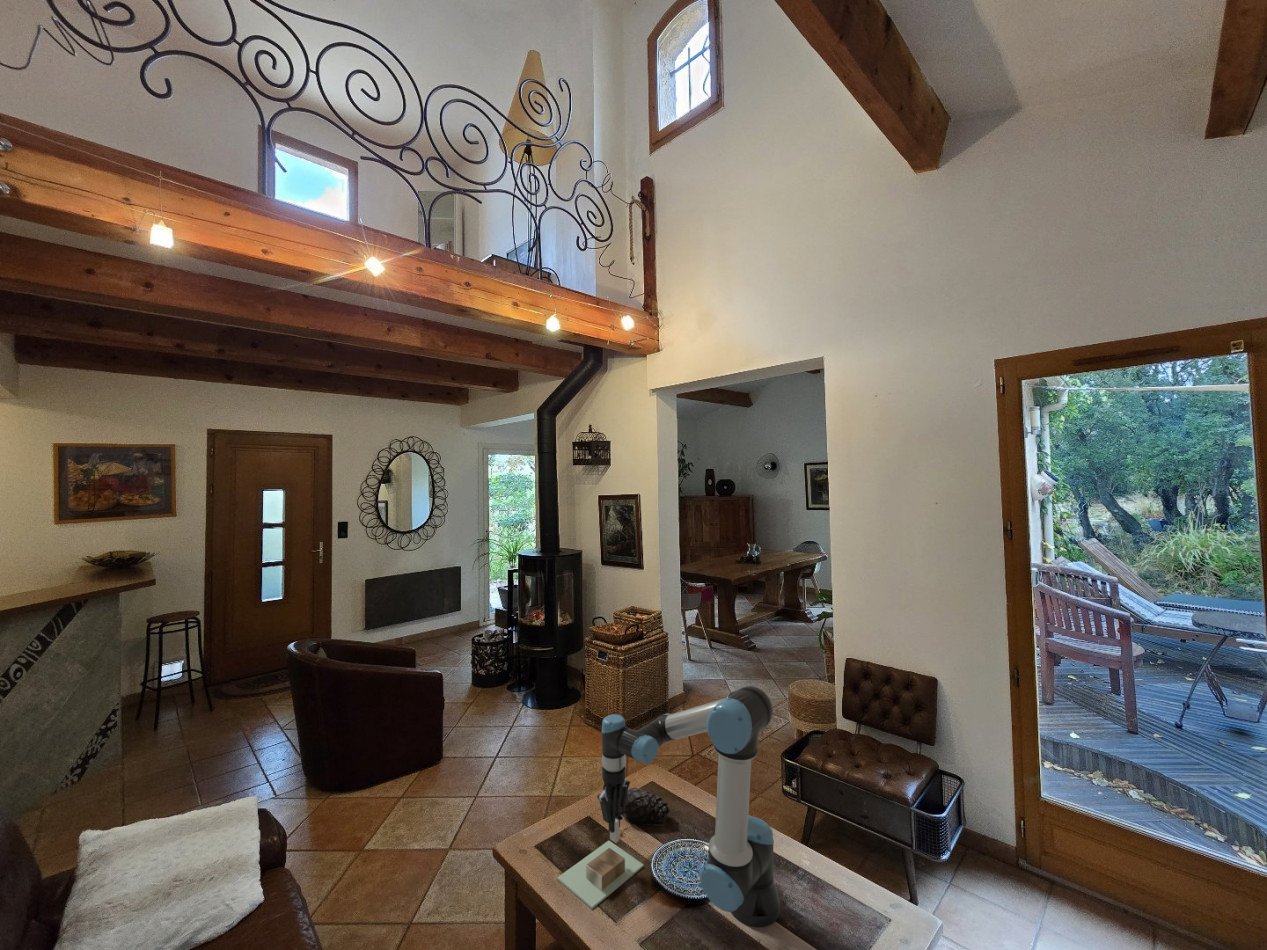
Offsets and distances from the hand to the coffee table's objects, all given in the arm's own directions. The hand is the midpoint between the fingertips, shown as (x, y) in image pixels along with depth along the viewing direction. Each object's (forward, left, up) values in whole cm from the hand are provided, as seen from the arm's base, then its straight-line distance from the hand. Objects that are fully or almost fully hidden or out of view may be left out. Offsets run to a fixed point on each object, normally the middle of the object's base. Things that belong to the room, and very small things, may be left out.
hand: (614, 839), depth 162 cm
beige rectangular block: (-2, +1, -5) cm, 5 cm away
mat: (0, +6, -7) cm, 9 cm away
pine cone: (+7, -23, -8) cm, 25 cm away
